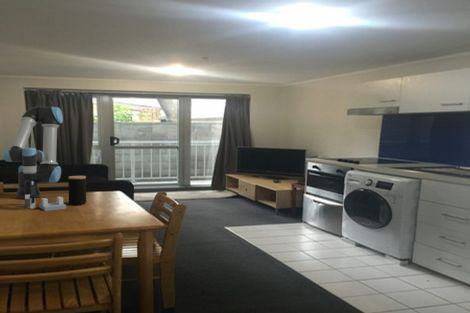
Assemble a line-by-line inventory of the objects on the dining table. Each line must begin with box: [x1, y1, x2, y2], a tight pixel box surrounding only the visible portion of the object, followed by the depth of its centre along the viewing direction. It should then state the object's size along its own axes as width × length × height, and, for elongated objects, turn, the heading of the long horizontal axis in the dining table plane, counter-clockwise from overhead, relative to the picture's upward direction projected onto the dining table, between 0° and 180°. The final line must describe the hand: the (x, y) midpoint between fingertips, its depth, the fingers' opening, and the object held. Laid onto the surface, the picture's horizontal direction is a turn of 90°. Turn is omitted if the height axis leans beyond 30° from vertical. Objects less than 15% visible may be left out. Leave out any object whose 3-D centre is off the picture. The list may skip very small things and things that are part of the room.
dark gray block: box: [24, 198, 37, 209], centre depth 232 cm, size 4×5×5 cm
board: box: [38, 196, 67, 212], centre depth 230 cm, size 14×12×6 cm
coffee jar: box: [68, 175, 87, 206], centre depth 242 cm, size 11×11×18 cm
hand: (30, 206), depth 231 cm, fingers open, 13 cm apart
